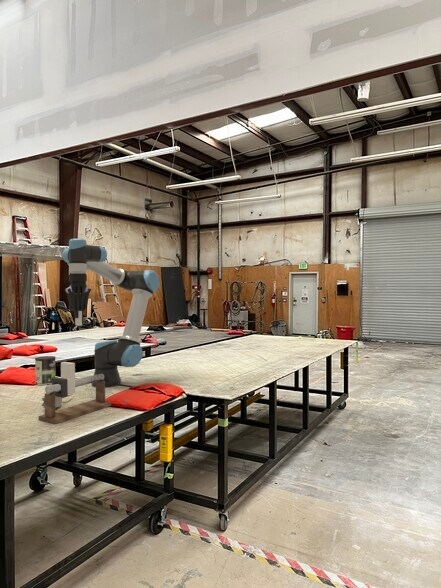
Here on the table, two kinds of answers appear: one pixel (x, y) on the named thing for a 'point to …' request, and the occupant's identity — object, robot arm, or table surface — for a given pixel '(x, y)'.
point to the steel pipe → (78, 383)
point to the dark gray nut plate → (63, 386)
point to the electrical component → (56, 401)
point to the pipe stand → (74, 410)
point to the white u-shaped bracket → (69, 375)
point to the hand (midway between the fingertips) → (78, 325)
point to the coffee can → (45, 369)
